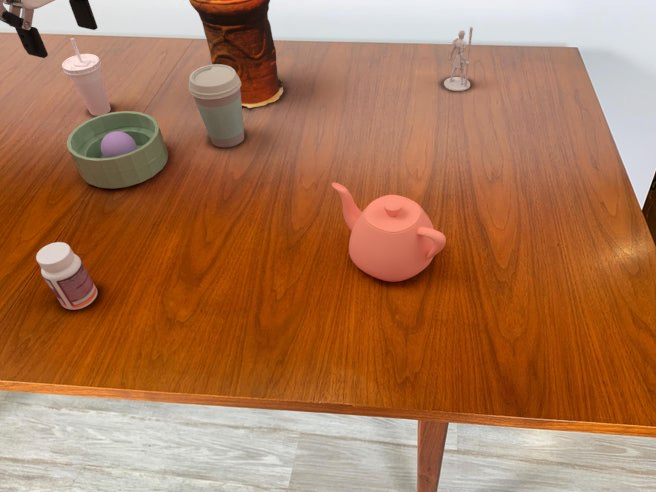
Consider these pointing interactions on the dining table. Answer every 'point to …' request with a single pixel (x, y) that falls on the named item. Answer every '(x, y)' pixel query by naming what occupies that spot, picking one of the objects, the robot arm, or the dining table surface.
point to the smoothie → (88, 80)
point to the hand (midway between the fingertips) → (64, 41)
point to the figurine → (459, 64)
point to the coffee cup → (219, 103)
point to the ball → (117, 144)
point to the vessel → (243, 45)
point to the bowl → (124, 167)
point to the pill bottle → (66, 276)
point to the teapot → (390, 236)
